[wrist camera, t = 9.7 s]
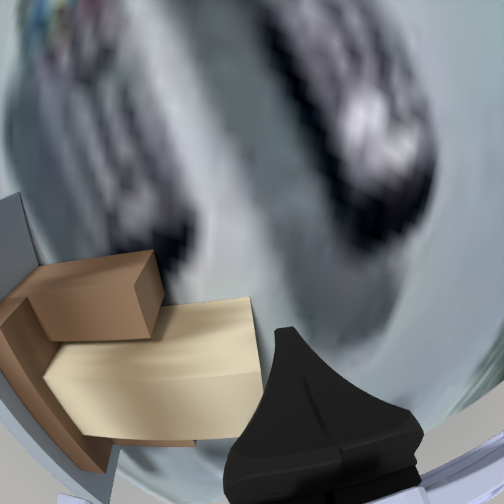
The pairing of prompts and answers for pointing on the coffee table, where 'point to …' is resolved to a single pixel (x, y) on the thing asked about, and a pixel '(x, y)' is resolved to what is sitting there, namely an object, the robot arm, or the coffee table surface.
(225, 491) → the robot arm
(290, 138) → the coffee table surface
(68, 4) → the coffee table surface
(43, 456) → the backstop wall
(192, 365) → the cream wooden bar
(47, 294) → the brown u-shaped bracket
